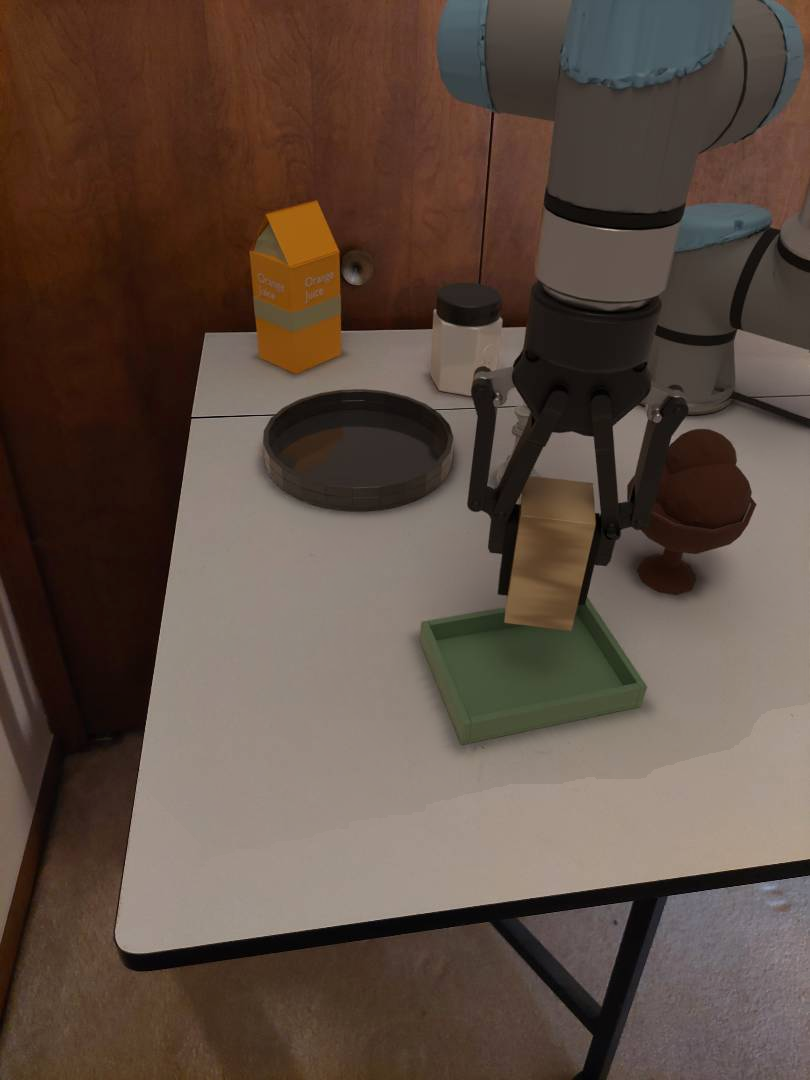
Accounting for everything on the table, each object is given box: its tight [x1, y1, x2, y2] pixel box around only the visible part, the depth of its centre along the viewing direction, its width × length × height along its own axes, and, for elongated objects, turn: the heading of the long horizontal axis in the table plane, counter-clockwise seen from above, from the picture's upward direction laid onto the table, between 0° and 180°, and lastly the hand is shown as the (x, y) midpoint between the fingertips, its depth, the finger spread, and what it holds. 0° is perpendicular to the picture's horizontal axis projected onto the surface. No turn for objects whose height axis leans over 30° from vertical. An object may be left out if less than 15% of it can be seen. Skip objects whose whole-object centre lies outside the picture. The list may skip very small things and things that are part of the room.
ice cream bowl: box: [626, 428, 758, 596], centre depth 72 cm, size 11×11×15 cm
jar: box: [429, 282, 504, 397], centre depth 103 cm, size 9×8×12 cm
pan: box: [262, 388, 455, 512], centre depth 91 cm, size 21×21×3 cm
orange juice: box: [249, 199, 342, 375], centre depth 105 cm, size 8×9×20 cm
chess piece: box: [495, 402, 538, 486], centre depth 85 cm, size 4×4×10 cm
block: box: [504, 476, 596, 631], centre depth 58 cm, size 5×5×10 cm
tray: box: [419, 596, 648, 746], centre depth 66 cm, size 15×11×2 cm
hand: (541, 587), depth 60 cm, fingers closed on block, 5 cm apart
